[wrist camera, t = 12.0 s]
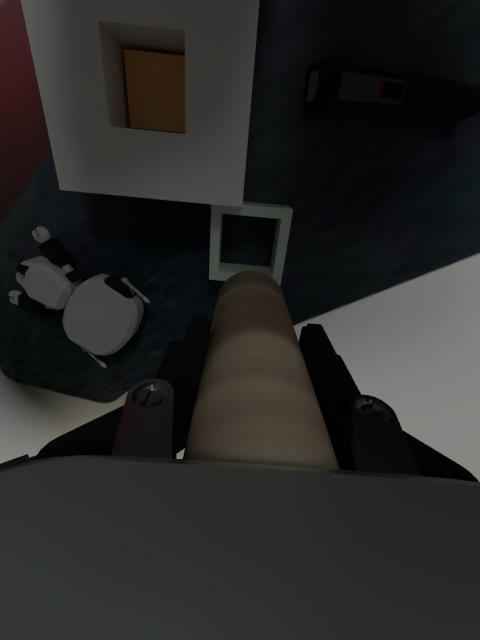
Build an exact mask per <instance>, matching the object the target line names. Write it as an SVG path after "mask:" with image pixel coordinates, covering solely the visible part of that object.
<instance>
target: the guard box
mask: <svg viewBox="0 0 480 640" xmlns="http://www.w3.org/2000/svg"><path fill="white" fill-rule="evenodd" d="M259 1H260V0H21V4H22V8H23V13H24V18H25V22H26V27H27V32H28V37H29V42H30V47H31V52H32V56H33V61H34V66H35V71H36V76H37V81H38V85H39V90H40V95H41V99H42V105H43V109H44V114H45V119H46V124H47V129H48V133H49V138H50V143H51V148H52V153H53V158H54V162H55V167H56V172H57V177H58V182H59V186H60V190H67V191H77V192H88V193H98V194H109V195H119V196H130V197H140V198H151V199H161V200H172V201H182V202H193V203H203V204H214V205H224V206H235V207H242V203H243V191H244V179H245V167H246V155H247V143H248V131H249V120H250V108H251V96H252V84H253V72H254V60H255V48H256V36H257V24H258V13H259ZM124 49H127V50H136V51H146V52H155V53H164V54H173V55H182V56H185V134H179V133H170V132H160V131H150V130H140V129H133V128H131V127H130V117H129V106H128V95H127V83H126V72H125V60H124Z"/></svg>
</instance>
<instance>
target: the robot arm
mask: <svg viewBox="0 0 480 640" xmlns="http://www.w3.org/2000/svg"><path fill="white" fill-rule="evenodd" d="M209 338H210V318H206V315H201V314H193V315H192V317H191V320H190V323H189V326H188V328H187V331H186V334H185V336H184V339H183V342H170V344H169V346H168V349H167V351H166V353H165V355H164V358H163V360H162V362H161V364H160V367H159V369H158V371H157V373H156V376H155V378H154V379H149V380H144V381H142V382H139V383H137V384H136V385H134V386H133V387H132V388H131V389H130V390H129V392H128V394H127V397H126V401H125V404H124V405H123V406H121V407H119V408H117V409H115V410H113V411H111V412H109V413H107V414H105V415H103V416H101V417H99V418H96V419H94V420H92V421H91V422H88V423H86V424H84V425H82V426H80V427H78V428H76V429H74V430H72V431H70V432H68V433H65V434H63V435H61V436H59V437H57V438H56V439H54V440H52V441H51V442H49V443H48V444H47V445H46V446H44V447H43V448H42V449H41V450H40V452H39V453H38V454H37V455H36V456H33V457H31V458H29V456H28V454H26V455H24V456H21V457H18V458H15V459H12V460H9V461H7V462H4V463H1V464H0V640H480V482H479V481H478V480H477V479H476V478H475V477H474V476H473V475H472V474H471V473H470V472H469V471H468V470H466V469H465V468H463V467H462V466H460V465H459V464H457V463H456V462H454V461H452V460H451V459H449V458H448V457H446V456H444V455H442V454H441V453H439V452H438V451H436V450H434V449H433V448H431V447H429V446H427V445H426V444H424V443H423V442H421V441H419V440H418V439H416V438H414V437H413V436H411V435H409V434H408V433H406V432H405V431H403V430H402V428H401V426H400V423H399V421H398V418H397V416H396V414H395V412H394V411H393V409H392V408H391V407H390V406H389V405H388V404H386V403H385V402H383V401H382V400H380V399H378V398H376V397H373V396H369V395H361V393H360V391H359V390H358V388H357V386H356V384H355V382H354V380H353V378H352V376H351V375H350V373H349V371H348V369H347V367H346V365H345V363H344V361H343V360H342V358H341V356H340V355H337V354H336V352H335V350H334V348H333V346H332V345H331V342H330V340H329V338H328V336H327V334H326V333H325V331H324V329H323V327H322V325H320V324H309V323H308V324H307V326H303V327H302V330H301V334H300V339H299V345H300V348H301V351H302V355H303V358H304V361H305V364H306V367H307V370H308V373H309V376H310V379H311V382H312V385H313V388H314V391H315V395H316V398H317V401H318V404H319V407H320V410H321V413H322V416H323V419H324V422H325V425H326V428H327V431H328V434H329V438H330V441H331V444H332V447H333V450H334V453H335V456H336V459H337V462H338V465H339V468H340V470H337V469H323V468H308V467H294V466H279V465H264V464H249V463H234V462H218V461H202V460H186V459H176V454H177V453H178V452H180V451H181V450H183V449H184V448H185V447H186V442H187V437H188V433H189V428H190V423H191V419H192V414H193V410H194V406H195V402H196V399H197V394H198V390H199V385H200V380H201V376H202V371H203V366H204V361H205V357H206V352H207V347H208V343H209Z"/></svg>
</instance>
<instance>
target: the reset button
mask: <svg viewBox="0 0 480 640" xmlns="http://www.w3.org/2000/svg"><path fill="white" fill-rule="evenodd" d="M124 60H125V72H126V83H127V95H128V106H129V117H130V127H131V128H133V129H140V130H150V131H160V132H170V133H179V134H185V56H182V55H173V54H164V53H155V52H146V51H136V50H127V49H124Z"/></svg>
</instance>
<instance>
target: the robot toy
mask: <svg viewBox="0 0 480 640" xmlns="http://www.w3.org/2000/svg"><path fill="white" fill-rule="evenodd" d="M32 234H33V236H34V238H35V240H37V241H38V242H40V243H42V244H41V245H40V246H39V247H38V248H39V249H40V250H41V252H42V253H43V254H44V255H45V257H46V258H45V257H42V256H39V257H35V258H32V259H28V260H21V261H20V262H18V264H17V270H18V271H19V273H16V278H17V281H18V282H19V283H20V284H21V285H22V286H23V287H24V288H25V290H26V292H23V293H21V292H20V291H11V292H10V293H9V296H12V297H11V298H9V299H10V301H11V302H12V303H14V304H16V305H19V306H20V307H21V308H25V309H30V310H38V309H43V308H49V309H51V311H52V313H56V314H63V313H64V315H63V326H64V329H65V332H66V334H67V336H68V338H69V339H70V340H72V341H73V343H74V344H76V345H78V346H79V347H81V348H82V349H83V350H84V351H87V352H88V353H89V354H90V355H91V356H92V357H93V358H94V359H95V360H97V361H98V362H99V363H100V365H101V366H102V367H105V368H106V364H105V363H104V362H102V361H101V360H100V359H98V358H97V357H96V356H95V355H103V356H106V355H110V354H113V353H115V352H116V351H118V350H119V349H120V348H121V347H123V346H124V345H125V344H126V343H127V342H128V341H129V340H130V339H131V337H132V336H133V335H134V334H135V333H136V331H137V329H138V327H139V324H140V322H141V320H142V316H143V311H144V307H143V301H142V299H141V298H140V296H141V297H142V298H143V300H144V301H145V302H148V303H150V302H149V299H148V298H147V297H145V296H144V295H143V294H141V293H140V292H139V291H138V290H137V289H136V288H135V287H134V286H133V285H132V284H130V283H129V280H128V279H127V278H126V277H124V278H122V277H120V276H117V275H114V274H112V275H110V276H109V275H106V274H99V275H96V276H94V277H92V278H90V279H88V280H86V281H84V282H83V283H82V279H81V278H83V275H82V274H81V273H80V271H79V270H77V269H75V270H74V269H73V268H72V267H71V265H70V264H69V257H68V252H67V250H66V249H65V248H64V246H63V245H62V244H61V242H60V241H59V240H58V238H57V239H52V238H51V234H50V232H49V231H48V230H47V229H46V228H45V227H41V226H40V227H38V228H37V229H35V230H33V233H32ZM139 295H140V296H139ZM94 354H95V355H94Z"/></svg>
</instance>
